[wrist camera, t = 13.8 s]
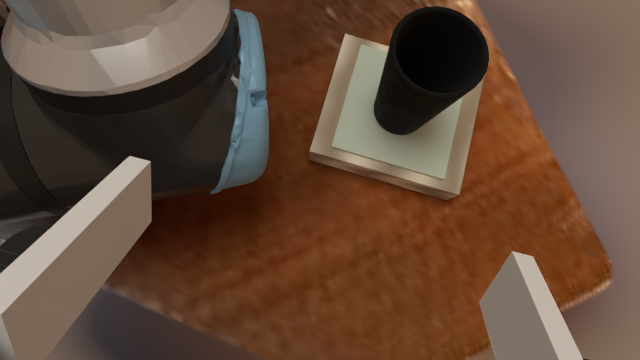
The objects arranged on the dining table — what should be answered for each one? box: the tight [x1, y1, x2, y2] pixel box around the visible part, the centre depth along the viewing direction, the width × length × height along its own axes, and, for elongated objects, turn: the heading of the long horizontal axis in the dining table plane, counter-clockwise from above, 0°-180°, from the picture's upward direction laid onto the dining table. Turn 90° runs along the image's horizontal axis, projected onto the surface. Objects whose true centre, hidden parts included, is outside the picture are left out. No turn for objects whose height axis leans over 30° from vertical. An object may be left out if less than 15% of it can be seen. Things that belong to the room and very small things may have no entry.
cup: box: [374, 6, 489, 135], centre depth 36 cm, size 8×8×12 cm
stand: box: [309, 34, 484, 200], centre depth 44 cm, size 16×14×4 cm
